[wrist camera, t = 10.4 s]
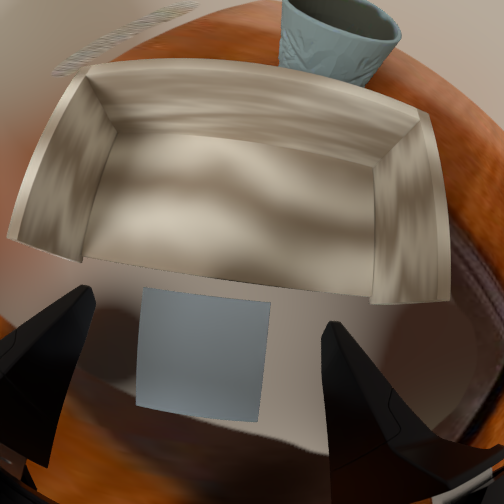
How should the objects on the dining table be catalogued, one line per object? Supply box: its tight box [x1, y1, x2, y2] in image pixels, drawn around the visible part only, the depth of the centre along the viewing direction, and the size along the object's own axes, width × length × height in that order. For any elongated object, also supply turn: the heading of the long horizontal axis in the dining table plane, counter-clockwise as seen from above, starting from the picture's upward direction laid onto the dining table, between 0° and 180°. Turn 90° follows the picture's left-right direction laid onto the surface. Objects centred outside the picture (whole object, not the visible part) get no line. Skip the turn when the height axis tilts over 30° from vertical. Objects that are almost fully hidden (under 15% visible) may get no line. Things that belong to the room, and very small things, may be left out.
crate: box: [7, 58, 451, 305], centre depth 18 cm, size 14×27×9 cm, turn 83°
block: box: [136, 287, 271, 422], centre depth 15 cm, size 4×4×12 cm
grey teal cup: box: [278, 0, 402, 88], centre depth 20 cm, size 10×10×12 cm
